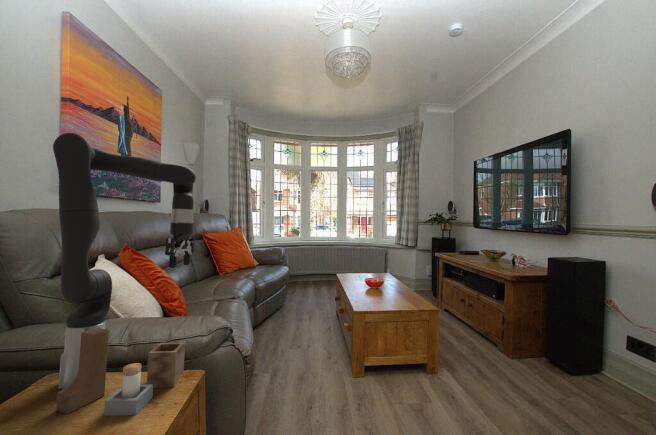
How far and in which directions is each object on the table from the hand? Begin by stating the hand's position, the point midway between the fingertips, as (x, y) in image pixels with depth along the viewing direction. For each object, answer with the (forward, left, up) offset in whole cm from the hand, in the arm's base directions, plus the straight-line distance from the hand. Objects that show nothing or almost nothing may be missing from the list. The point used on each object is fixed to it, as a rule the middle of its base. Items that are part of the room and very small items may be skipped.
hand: (179, 266), depth 104 cm
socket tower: (-1, -16, -33) cm, 37 cm away
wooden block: (-20, -21, -33) cm, 44 cm away
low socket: (-8, -27, -33) cm, 43 cm away
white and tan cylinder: (-8, -27, -32) cm, 43 cm away
